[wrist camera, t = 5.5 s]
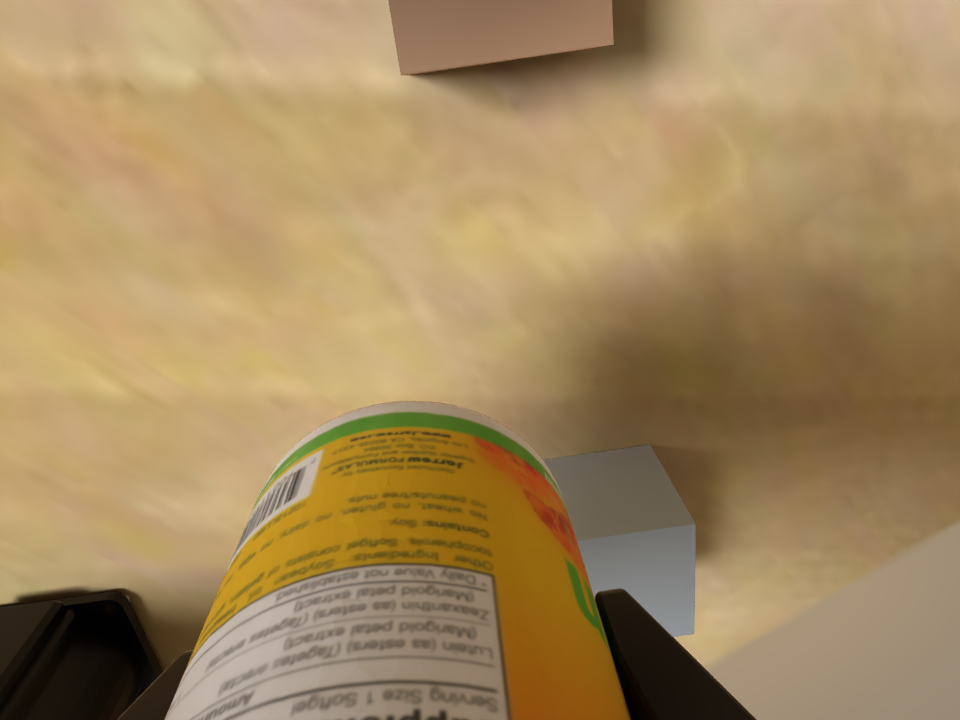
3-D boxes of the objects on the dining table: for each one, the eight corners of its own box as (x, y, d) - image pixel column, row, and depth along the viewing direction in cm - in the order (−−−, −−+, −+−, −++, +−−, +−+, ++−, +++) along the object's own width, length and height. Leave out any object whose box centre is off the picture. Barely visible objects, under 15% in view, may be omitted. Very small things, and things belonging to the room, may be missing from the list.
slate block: (651, 540, 25) (694, 633, 21) (537, 557, 25) (556, 653, 21) (649, 443, 23) (695, 523, 19) (525, 460, 23) (544, 545, 19)
